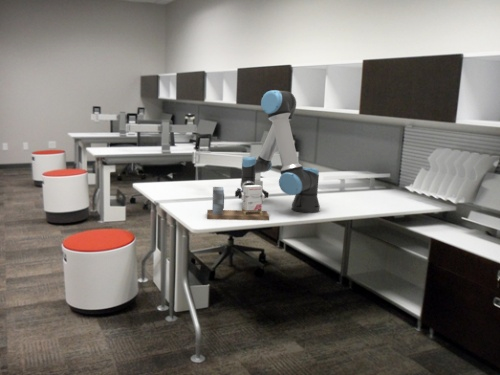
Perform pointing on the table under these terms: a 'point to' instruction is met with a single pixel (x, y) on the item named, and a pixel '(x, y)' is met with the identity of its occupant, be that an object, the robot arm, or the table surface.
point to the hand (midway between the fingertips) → (253, 197)
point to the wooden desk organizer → (242, 214)
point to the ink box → (252, 197)
